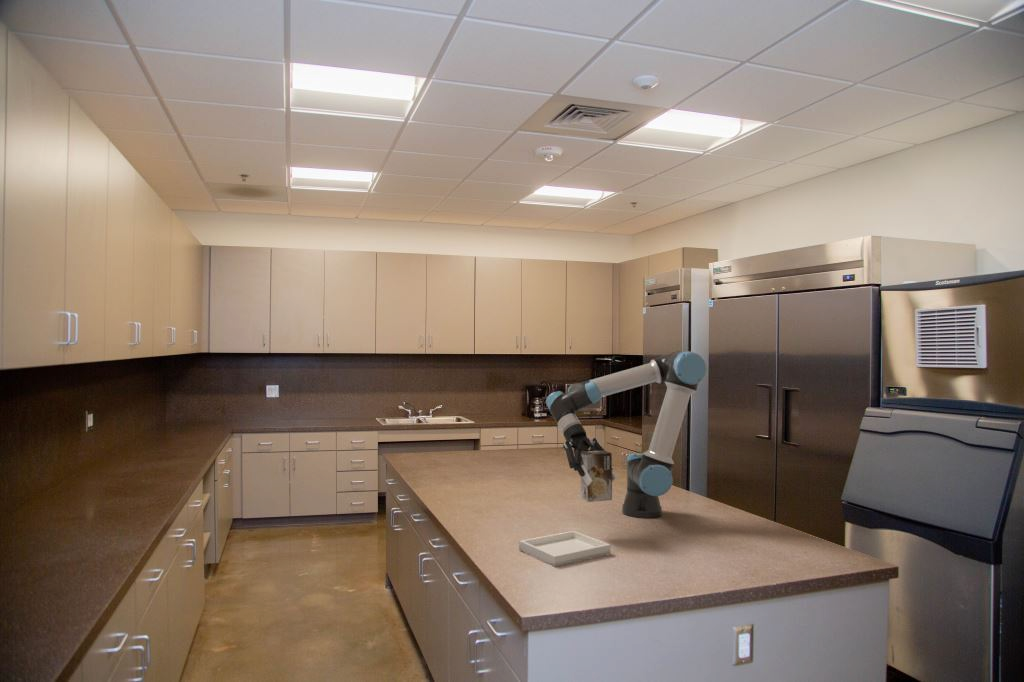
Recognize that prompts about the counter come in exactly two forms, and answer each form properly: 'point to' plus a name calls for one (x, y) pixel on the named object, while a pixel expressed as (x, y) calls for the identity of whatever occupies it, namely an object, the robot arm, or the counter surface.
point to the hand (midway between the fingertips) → (602, 481)
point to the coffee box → (597, 476)
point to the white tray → (564, 548)
